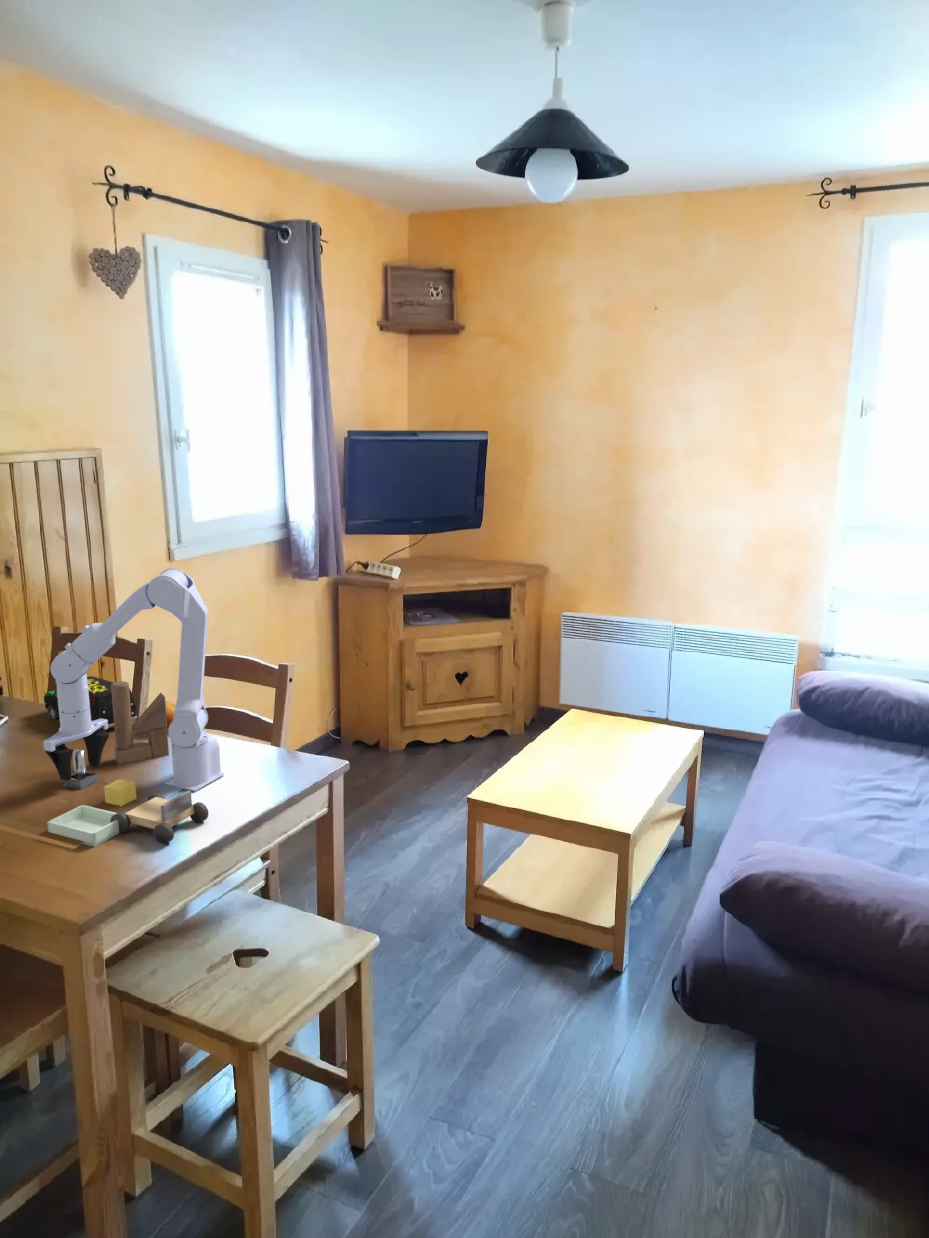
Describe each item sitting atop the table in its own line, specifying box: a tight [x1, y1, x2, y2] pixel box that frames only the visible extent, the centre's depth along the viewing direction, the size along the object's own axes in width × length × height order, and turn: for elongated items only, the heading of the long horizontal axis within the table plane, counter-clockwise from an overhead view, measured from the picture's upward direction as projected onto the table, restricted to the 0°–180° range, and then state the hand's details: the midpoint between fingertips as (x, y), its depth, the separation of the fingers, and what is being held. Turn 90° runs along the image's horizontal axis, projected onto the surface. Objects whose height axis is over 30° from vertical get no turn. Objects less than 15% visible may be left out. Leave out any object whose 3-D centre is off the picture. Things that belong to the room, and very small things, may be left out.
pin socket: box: [62, 770, 101, 791], centre depth 181 cm, size 5×5×2 cm
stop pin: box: [72, 748, 87, 780], centre depth 180 cm, size 2×2×7 cm
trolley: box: [111, 790, 209, 845], centre depth 163 cm, size 10×14×6 cm
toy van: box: [43, 675, 138, 729], centre depth 218 cm, size 11×25×10 cm, turn 55°
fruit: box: [165, 700, 176, 733], centre depth 212 cm, size 8×8×8 cm
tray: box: [46, 804, 120, 848], centre depth 161 cm, size 8×11×2 cm
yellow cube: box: [103, 778, 137, 807], centre depth 173 cm, size 4×4×4 cm
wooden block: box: [111, 680, 170, 765], centre depth 193 cm, size 4×11×18 cm, turn 121°
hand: (80, 772), depth 180 cm, fingers open, 7 cm apart
